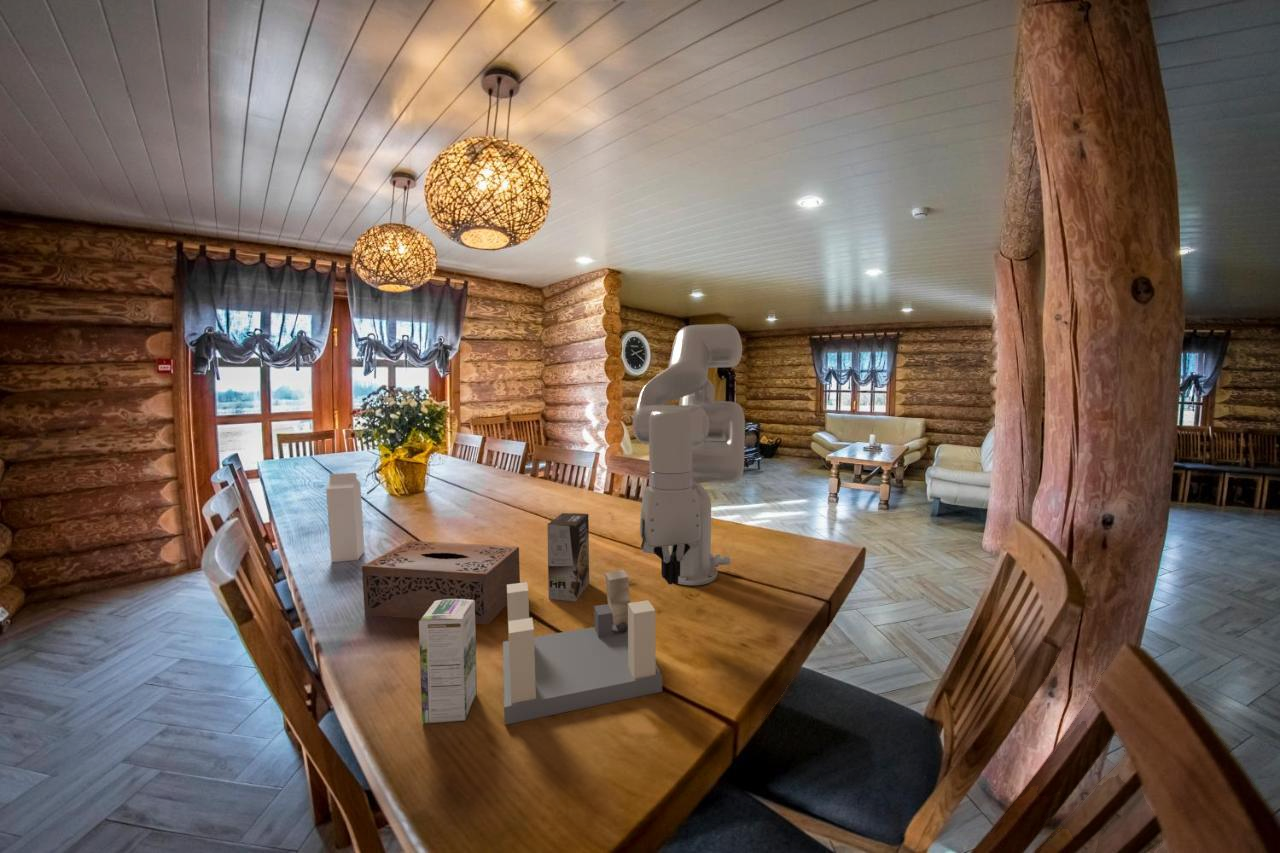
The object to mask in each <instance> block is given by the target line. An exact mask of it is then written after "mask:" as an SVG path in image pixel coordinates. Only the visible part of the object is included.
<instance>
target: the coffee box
mask: <svg viewBox="0 0 1280 853" xmlns="http://www.w3.org/2000/svg"><path fill="white" fill-rule="evenodd" d="M589 516H590V515H589V513H575V512H574V513H571V512H570V513H569V512H568V513H566V512H562V513H560V514H559V515H558V516H557V517H555V518H554V519H553V520H551V521H550V522H548V523H547V565H548V566H547V569H548V570H547V572H548V573H547V574H548V575H547V577H548V578H547V579H548V581H547V582H548V599H549V600H557V601H565V602H566V601H567V602H573V603H574V602H577V601H578V600H579V598H580V597H581V596H582V594H583V593H584V591H585V590H586V588H588V586H589V585H590V543H589V542H590V541H589V540H590V537H589V535H590V534H589V532H590V531H589V530H590V529H589V528H590V526H589V522H590V521H589Z"/></svg>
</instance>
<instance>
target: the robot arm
mask: <svg viewBox="0 0 1280 853" xmlns="http://www.w3.org/2000/svg"><path fill="white" fill-rule="evenodd" d="M742 355H743V343H742V338H741V335H740V333H739V331H738V329H737V328H736V327H735V326H733V325H732V324H729V323H727V324H726V323H719V324H718V323H716V324H693V325H691V324H690V325H686V326H684V327H682V328H680V329H679V330H678V331H677V333H676V335H675V338H674V341H673V342H672V347H671V354H670V358H669V362H668V366H667V367H668V368H666V369H663V370H662V371H661V372H659V373H658V374H656V375H655V376H654V377H653V378H651V379H650V380H649V381H648V382H647V383H646V384H645V385H644V386H643V387H642V389H641V390H640V392H639V394H638V398H637V402H636V405H635V409H634V412H633V418H632V432H633V436H634V438H636V441H638V442H640V443H642V444H645V445H648V446H649V447H648V455H649V456H648V458H649V459H648V461H649V463H648V465H649V466H648V469H649V470H648V476H649V478H648V479H649V480H648V482H649V485H648V486H644V490H643V495H642V499H641V507H640V517H639V518H640V520H639V521H640V522H639V535H640V539H642V541H641V545H640V549H641V551H642V552H643V553H646V554H655V555H656V556H657V557H659V559H661V562H660V565H661V572H660V573H661V577H662V579H664V580H665V581H666V583H667V584H668V585H672V584H676V585H681V586H703V585H708V584H710V583H712V582H714V581H715V580H716V579H717V578H718V569H717V568H718V567H719V566H726V565H731V558H730V556H729V555H722V556H721V555H720V554H719V553H715V554H712V501H711V498H710V495H709V494H708V492H707V490H706V489H705V488H704V486H703V485H702V484H705V483H707V484H709V483H710V484H726V485H727V484H736V483H738V482H740V481H741V480H742V478H743V475H744V470H745V445H746V444H745V443H746V442H745V440H746V439H745V438H746V420H745V413H744V412H745V411H744V410H743V407H742V406H741V405H740V404H739V403H738V402H735V401H727V400H726V401H725V400H724V401H722V400H721V401H720V400H718V401H715V394H716V390H715V386H714V384H713V383H712V382H711V380H710V379H709V378H708V375H709V368H734V367H736V366H738V365H739V363H740V362H741V359H742ZM675 400H679V402H678V405H677V404H666V403H669V402H672V401H675Z"/></svg>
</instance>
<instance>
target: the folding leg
mask: <svg viewBox="0 0 1280 853" xmlns="http://www.w3.org/2000/svg"><path fill="white" fill-rule="evenodd" d="M604 574H605V575H604V576H605V586H606V597H607V604H608V605H609V607H610V609H611V611H612V624H613V626H615V625H616V626H617V629H618V631H619V632H621V633H624V632H626V631H627V630H628V624H627V623H628V603H631V598H630V585H629V576H628V575H627V573H626V571H625V570H624V569H619V570H612V571H608V572H605V573H604Z"/></svg>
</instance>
